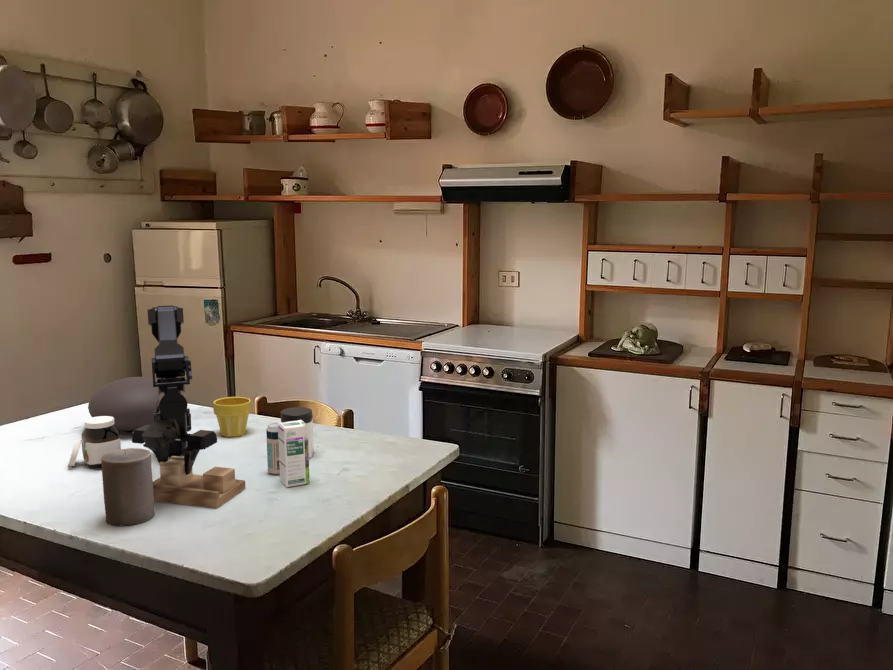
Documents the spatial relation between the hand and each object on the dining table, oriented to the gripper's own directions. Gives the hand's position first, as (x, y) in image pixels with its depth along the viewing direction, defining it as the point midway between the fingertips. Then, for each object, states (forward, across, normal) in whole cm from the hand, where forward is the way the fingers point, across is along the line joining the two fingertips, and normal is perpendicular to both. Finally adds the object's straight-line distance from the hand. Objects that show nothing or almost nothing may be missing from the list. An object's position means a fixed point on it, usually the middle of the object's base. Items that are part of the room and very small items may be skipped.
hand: (176, 472), depth 173 cm
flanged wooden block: (+2, 0, 0) cm, 2 cm away
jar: (+5, +15, +31) cm, 35 cm away
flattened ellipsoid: (+5, -41, +40) cm, 57 cm away
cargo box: (+2, +11, 0) cm, 11 cm away
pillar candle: (+5, -1, -15) cm, 16 cm away
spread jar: (+5, -31, +10) cm, 33 cm away
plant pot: (+5, -11, +43) cm, 45 cm away
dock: (+4, +4, 0) cm, 6 cm away
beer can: (+5, +16, +18) cm, 25 cm away
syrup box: (+5, +23, +13) cm, 27 cm away
